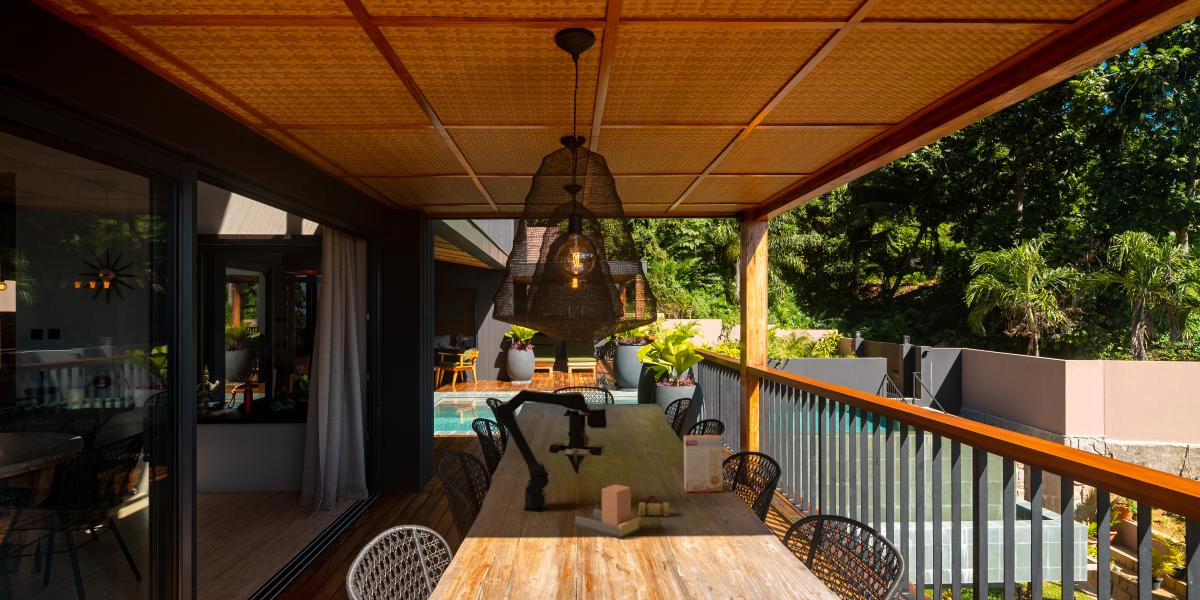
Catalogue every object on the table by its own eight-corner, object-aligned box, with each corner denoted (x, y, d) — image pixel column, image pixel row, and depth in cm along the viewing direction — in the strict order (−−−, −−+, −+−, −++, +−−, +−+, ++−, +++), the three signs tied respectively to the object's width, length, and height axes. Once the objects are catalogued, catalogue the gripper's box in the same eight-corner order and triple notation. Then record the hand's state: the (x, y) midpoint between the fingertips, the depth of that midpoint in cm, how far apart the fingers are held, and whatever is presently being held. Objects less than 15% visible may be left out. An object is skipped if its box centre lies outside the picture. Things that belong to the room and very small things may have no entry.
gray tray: (575, 526, 206) (575, 513, 206) (595, 518, 214) (595, 506, 214) (621, 539, 195) (621, 525, 195) (640, 530, 203) (640, 517, 203)
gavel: (637, 490, 237) (665, 490, 236) (637, 503, 236) (665, 503, 236) (639, 504, 216) (669, 504, 216) (639, 518, 215) (669, 518, 215)
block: (601, 527, 201) (601, 488, 202) (615, 521, 207) (615, 484, 207) (617, 531, 198) (617, 492, 198) (630, 525, 203) (630, 487, 203)
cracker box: (719, 488, 250) (719, 434, 250) (722, 492, 244) (722, 437, 244) (683, 488, 250) (683, 434, 250) (685, 493, 244) (685, 437, 244)
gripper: (608, 425, 231) (608, 469, 231) (558, 423, 236) (558, 466, 236) (600, 431, 220) (600, 477, 220) (548, 428, 225) (548, 474, 225)
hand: (577, 473), depth 225 cm, fingers closed
